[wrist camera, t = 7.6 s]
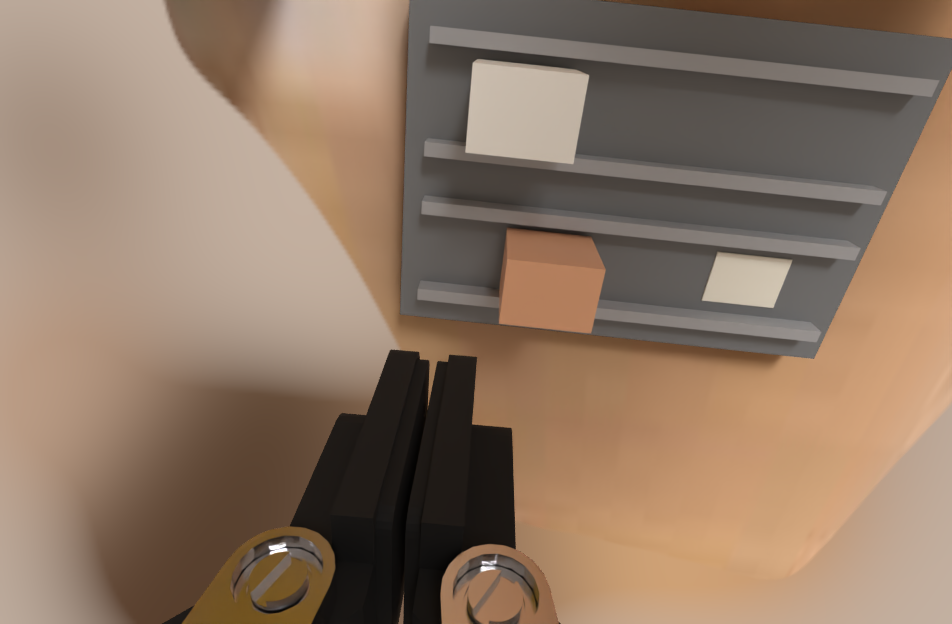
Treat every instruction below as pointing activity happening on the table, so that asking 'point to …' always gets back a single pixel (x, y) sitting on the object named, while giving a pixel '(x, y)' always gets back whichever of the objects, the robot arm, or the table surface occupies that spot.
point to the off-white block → (525, 111)
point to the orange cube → (550, 280)
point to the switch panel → (667, 164)
